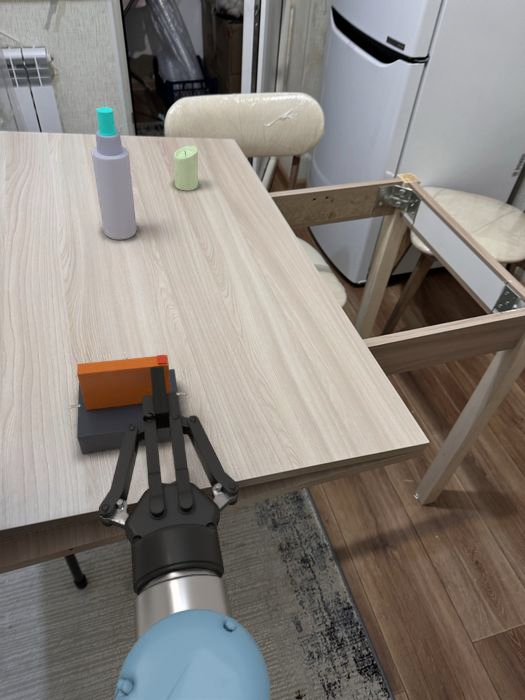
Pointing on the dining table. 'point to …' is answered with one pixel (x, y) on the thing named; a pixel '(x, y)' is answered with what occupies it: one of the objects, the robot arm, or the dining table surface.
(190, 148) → the candle
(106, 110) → the spray bottle
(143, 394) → the orange toy brick
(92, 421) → the dark square tile
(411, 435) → the dining table surface
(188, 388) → the dining table surface
